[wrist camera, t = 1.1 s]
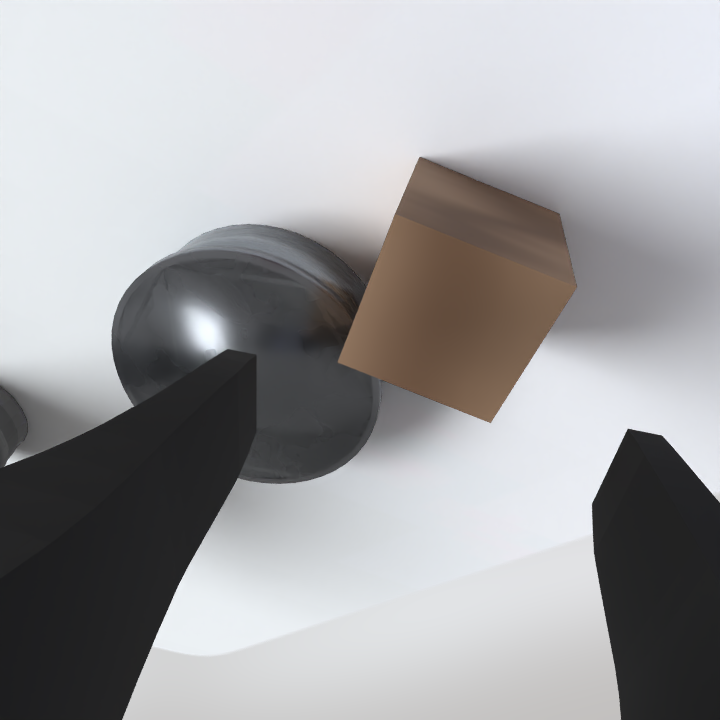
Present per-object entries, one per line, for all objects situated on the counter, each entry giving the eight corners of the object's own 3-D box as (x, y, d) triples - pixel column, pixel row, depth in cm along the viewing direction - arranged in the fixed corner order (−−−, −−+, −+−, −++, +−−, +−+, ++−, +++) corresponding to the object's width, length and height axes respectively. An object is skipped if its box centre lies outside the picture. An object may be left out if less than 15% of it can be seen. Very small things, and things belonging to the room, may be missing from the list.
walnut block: (559, 213, 18) (576, 286, 14) (492, 331, 20) (490, 423, 16) (419, 156, 18) (395, 213, 13) (370, 282, 20) (337, 362, 16)
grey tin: (433, 279, 20) (423, 323, 17) (348, 462, 25) (332, 515, 23) (170, 173, 20) (122, 203, 17) (142, 381, 25) (103, 427, 23)
